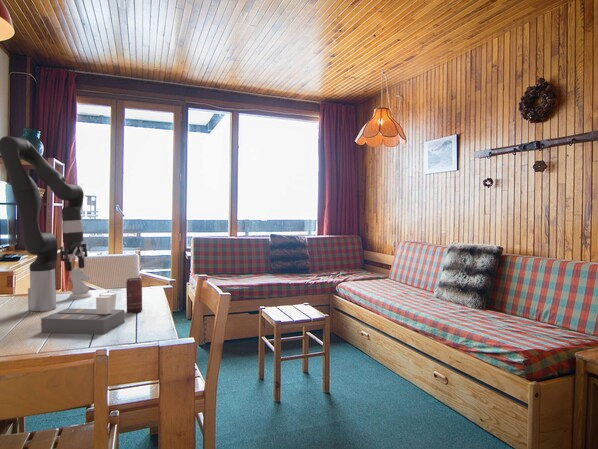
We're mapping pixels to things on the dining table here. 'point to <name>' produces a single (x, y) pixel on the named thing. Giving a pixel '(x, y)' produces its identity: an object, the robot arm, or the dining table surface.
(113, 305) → the white cylinder
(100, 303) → the fader knob
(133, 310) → the can
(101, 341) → the dining table surface
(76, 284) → the chess piece
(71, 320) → the slider control panel
